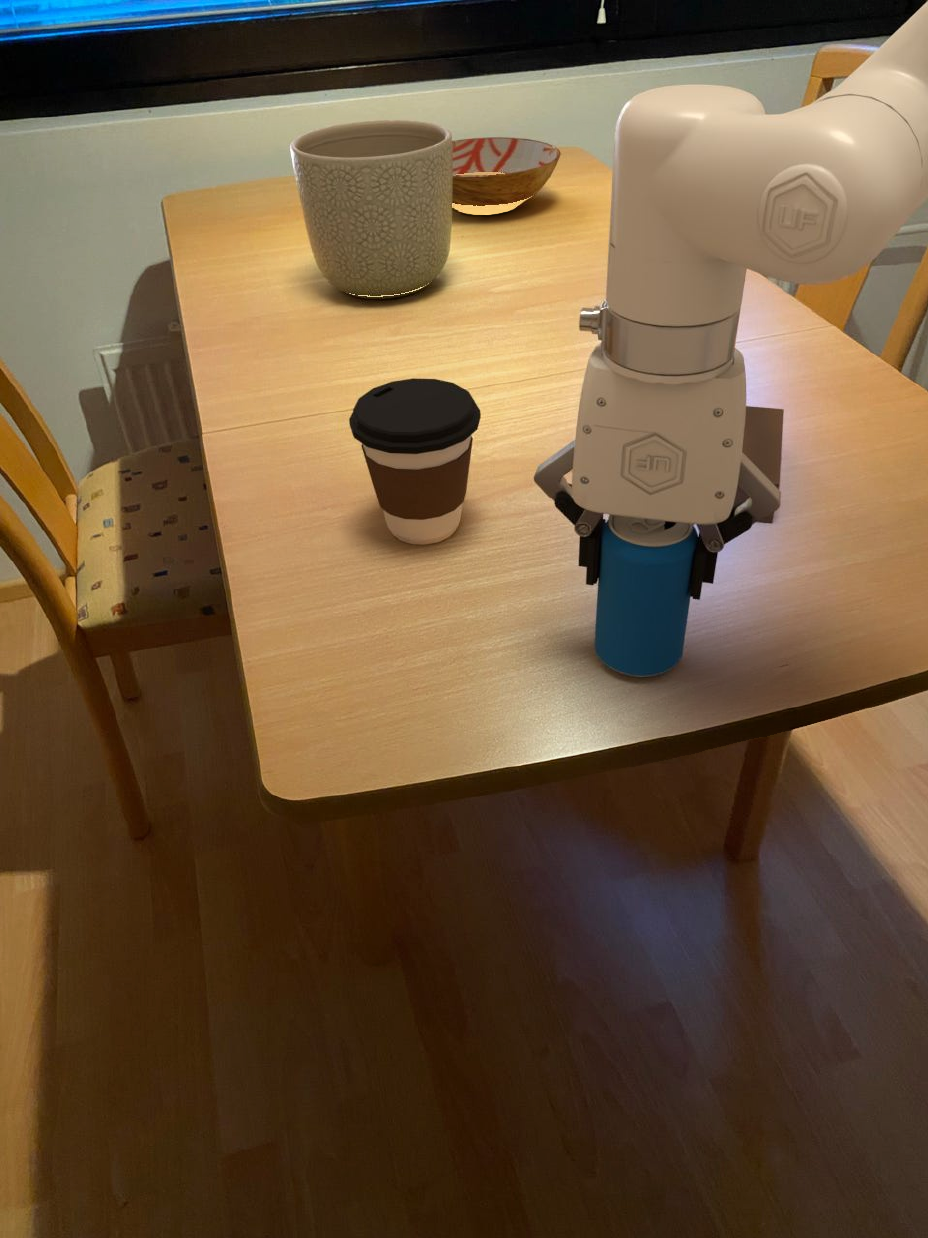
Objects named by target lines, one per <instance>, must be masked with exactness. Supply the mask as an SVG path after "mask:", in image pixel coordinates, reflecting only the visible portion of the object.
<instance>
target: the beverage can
mask: <svg viewBox="0 0 928 1238" xmlns="http://www.w3.org/2000/svg"><path fill="white" fill-rule="evenodd" d="M698 536H699V533H698V531H697V529H696V527H695V524H688V523H678V522H669V521H660V520H651V519H643V518H634V517H626V516H618V515H610V514H608V519H607V520H606V523H605V524H604V526H603V528H602V532H601V544H600V561H599V577H598V581H597V593H596V595H597V597H596V610H595V611H596V613H595V627H594V628H595V629H594V651H595V653H596V655H597V657H598V658H599V660H600V661H601V663H603V664H604V665H605V666H607V667H609V668H610V669H611V670H613V671H615V672H618V673H620V674H622V675H626V676H629V677H635V678H646V677H653V676H658V675H661V674H664V673H666V672H669V671H670V670H672V669H673V668H674V667H676V666H677V665H678V664H679V662H680V661H681V659H682V656H683V654H684V647H685V646H684V645H685V639H686V634H687V633H686V632H687V625H688V619H689V610H690V603H691V597H690V590H691V583H692V576H693V569H694V561H695V554H696V548H697V543H698Z"/></svg>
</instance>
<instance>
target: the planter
mask: <svg viewBox="0 0 928 1238" xmlns="http://www.w3.org/2000/svg"><path fill="white" fill-rule="evenodd" d="M452 141H453V139H452V132H451V131H450V130H449V129H448V128H446V127H445V126H442V125H440V124H437V123H431V122H427V121H426V122H425V121H419V120H407V119H379V120H378V119H377V120H364V121H363V120H362V121H355V122H347V123H340V124H334V125H330V126H329V125H328V126H325V127H320V128H317V129H314V130H310V131H308V132H305V133H303V134H301V135H299V136H296V137H295V138H294V139H293V140H292V141H291V142H290V145H289V147H290V155H291V162H292V167H293V173H294V178H295V184H296V188H297V193H298V197H299V203H300V206H301V212H302V215H303V221H304V225H305V230H306V233H307V234H306V235H307V238H308V241H309V245H310V249H311V252H312V255H313V258H314V261H315V264H316V266H317V269H318V270H319V272H320V274H321V275H322V277H323V278H325V280H327V281H328V282H329V283H330V284H331V285H332V286H333V287H334V288H336V289H338V290H339V289H340V290H339V291H341V290H342V291H341V292H343V291H344V292H343V293H344V294H346V295H350V296H352V297H356V298H360V299H367V300H385V299H395V298H401V297H405V296H409V295H412V294H415V293H417V292H419V291H421V290H423V289H424V288H426V287H427V286H429V285H430V284H431V283H432V282H433V281H435V280H436V279H437V277H438V276H439V275H440V274H441V272H442V271H443V269H444V268H445V266H446V263H447V261H448V258H449V255H450V249H451V240H452V224H453V223H452V222H453V220H452V219H453V209H452V190H453V156H452ZM431 281H432V282H431ZM430 282H431V283H430ZM428 283H430V284H428ZM427 284H428V285H427ZM425 285H427V286H425ZM423 286H425V287H423ZM420 287H423V288H421V289H419V290H416V291H413V292H409V291H412V290H415V289H418V288H420ZM346 292H347V293H346ZM405 292H409V293H405ZM349 293H351V294H349ZM401 293H405V294H401ZM352 294H355V295H352ZM394 294H400V295H394ZM358 295H368V296H369V295H370V296H381V295H394V296H383V297H367V296H358Z"/></svg>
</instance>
